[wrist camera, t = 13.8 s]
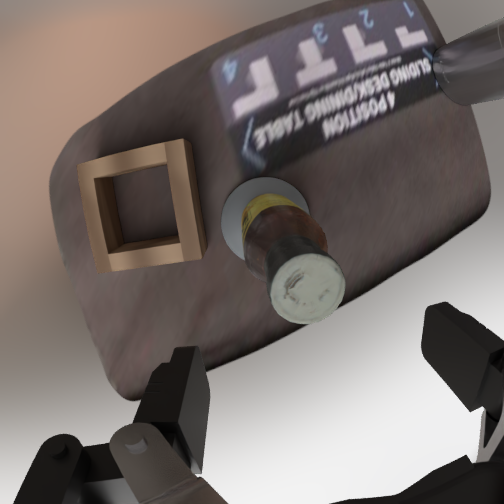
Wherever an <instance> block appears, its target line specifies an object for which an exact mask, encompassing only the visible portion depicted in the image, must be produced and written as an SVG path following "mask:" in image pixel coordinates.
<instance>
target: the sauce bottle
mask: <svg viewBox="0 0 504 504" xmlns="http://www.w3.org/2000/svg"><path fill="white" fill-rule="evenodd" d="M241 229H242V243H243V252H244V259H245V262H246V265H247V267H248V269H249V270H250V272H251V273H252V274H253V275H254V276H255V277H256V278H257V279H259V280H261V281H263V282H265V283H266V285H267V292H268V295H269V298H270V301H271V304H272V306H273V308H274V309H275V311H276V312H277V313H278V314H279V315H280V316H282V317H283V318H285V319H286V320H288V321H289V322H293V323H298V324H311V323H315V322H319V321H321V320H323V319H325V318H326V317H328V316H329V315H331V314H332V313H333V312H334V311H335V310H336V309H337V307H338V305H339V304H340V303H341V301H342V298H343V296H344V292H345V278H344V274H343V272H342V270H341V268H340V266H339V265H338V263H337V262H336V261H335V260H334V259H333V258H332V257H331V256H330V255H329V254H328V253H327V252H328V246H327V240H326V237H325V233H324V232H323V230H322V228H321V227H320V226H319V224H318V223H317V222H316V221H315V220H314V219H313V218H312V217H311V216H310V215H309V214H308V213H307V212H306V211H304V210H303V209H302V208H300V207H299V206H297V205H296V204H295V203H293V202H292V201H290V200H289V199H288V198H286V197H284V196H282V195H278V194H262V195H259V196H257V197H255V198H254V199H252V200H251V201H250V202H249V203H248V205H247V206H246V207H245V209H244V211H243V214H242V218H241Z"/></svg>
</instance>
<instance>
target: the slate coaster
mask: <svg viewBox="0 0 504 504" xmlns="http://www.w3.org/2000/svg"><path fill="white" fill-rule="evenodd" d="M262 194H278V195H282V196H284V197H286V198H288V199H289V200H290V201H292V202H293V203H295V204H296V205H297V206H299V207H300V208H302V209H303V210H304V211H306V212H307V213H308V214H309V209H308V206H307V203H306V201H305V199H304V198H303V196H302V195H301V194H300V192H299V191H298V190H297V189H296V188H295V187H293V186H292V185H290V184H289V183H287V182H285V181H283V180H280V179H277V178H272V177H260V178H255V179H251V180H249V181H247V182H245V183H243V184H241V185H240V186H238V187H237V188H236V189H235V190H234V191H233V192H232V193H231V194H230V196H229V197H228V199H227V201H226V203H225V205H224V207H223V211H222V216H221V228H222V233H223V236H224V239H225V241H226V243H227V244H228V246H229V247H230V249H231V250H232V251H233V252H234V253H235V254H236V255H237V256H239V257H240V258H242V259H243V260H245V259H244V252H243V243H242V229H241V218H242V214H243V211H244V209H245V207H246V206H247V205H248V203H249V202H250V201H251V200H252V199H254V198H255V197H257V196H259V195H262ZM309 215H310V214H309Z"/></svg>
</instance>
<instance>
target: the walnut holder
mask: <svg viewBox="0 0 504 504" xmlns="http://www.w3.org/2000/svg"><path fill="white" fill-rule="evenodd" d="M163 165H167V166H168V173H169V180H170V186H171V192H172V198H173V205H174V210H175V216H176V222H177V228H178V233H179V235H175V236H169V237H162V238H156V239H150V240H144V241H138V242H132V243H126V244H124V240H123V235H122V230H121V225H120V220H119V215H118V210H117V204H116V198H115V192H114V186H113V180H112V177H114V176H118V175H122V174H126V173H130V172H135V171H139V170H144V169H148V168H153V167H158V166H163ZM77 172H78V179H79V186H80V192H81V198H82V204H83V210H84V215H85V220H86V225H87V230H88V235H89V239H90V244H91V248H92V252H93V257H94V261H95V265H96V269H97V273H105V272H112V271H119V270H126V269H133V268H140V267H147V266H155V265H162V264H169V263H176V262H183V261H190V260H197V259H202V258H203V256H204V254H205V252H206V249H207V241H206V235H205V229H204V223H203V217H202V211H201V205H200V198H199V192H198V186H197V179H196V172H195V165H194V158H193V151H192V144H191V143H190V142H188V141H186V140H185V139H178V140H173V141H168V142H164V143H159V144H154V145H150V146H145V147H141V148H137V149H133V150H129V151H125V152H121V153H117V154H113V155H109V156H106V157H102V158H99V159H95V160H92V161H88V162H85V163H81V164H78V165H77Z"/></svg>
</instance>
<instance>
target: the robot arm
mask: <svg viewBox="0 0 504 504" xmlns="http://www.w3.org/2000/svg"><path fill="white" fill-rule="evenodd" d="M433 70H434V74H435V77H436V79H437V81H438V84H439V85H440V87H441V88H442V90H443V91H444V92H445V94H446V95H447V96H448V97H449V98H450V99H451V100H453V101H454V102H456V103H458V104H460V105H471V104H477V103H482V102H488V101H493V100H499V99H504V17H503V18H501V19H499V20H496V21H494V22H492V23H490V24H488V25H485V26H483V27H481V28H479V29H477V30H475V31H473V32H471V33H468V34H466V35H465V36H462V37H460V38H458V39H456V40H454V41H452V42H450V43H448V44H446V45H444V46H442V47H440V48H439V49H438V50H436V52H435V54H434V57H433ZM421 349H422V354H423V356H424V358H425V359H426V360H427V362H428V363H429V364H430V365H431V366H432V367H433V369H434V370H435V371H436V372H437V373H438V374H439V376H440V377H441V378H442V379H443V380H444V381H445V383H447V385H448V386H449V387H450V389H451V390H452V391H453V392H454V393H455V395H456V396H457V397H458V398H459V399H460V401H461V402H462V403H463V404H464V405H465V407H466V408H467V409H468V410H469V412H472V411H474V410H476V409H478V408H480V407H482V406H483V407H484V408H485V409H484V411H483V414H482V417H481V418H482V419H481V430H480V440H479V449H478V456H477V460H476V463H471V461H470V459H469V458H468V456H467V455H465V456H463V457H461V458H459V459H457V460H455V461H453V462H451V463H449V464H446V465H444V466H442V467H440V468H438V469H436V470H433V471H432V472H430V473H429V474H428V475H426V476H425V477H423V478H422V479H420V480H419V481H417V482H416V483H415V484H413V485H412V486H410V487H408V488H407V489H405V490H404V491H402V492H401V493H399V494H396V495H392V496H383V497H374V498H363V499H348V500H344V501H340V502H335V503H331V504H504V340H502V339H501V338H500V337H498V336H497V335H496V334H494V333H493V332H492V331H490V330H489V329H486V327H485V326H484V325H482V324H481V323H479V322H478V321H477V320H476V319H475V318H473V317H472V316H470V315H468V314H465V313H462V312H460V311H459V310H458V309H456V308H455V307H453V306H452V305H451V304H449V303H448V302H442V303H438V304H434V305H430V306H428V307H427V308H426V311H425V317H424V326H423V334H422V341H421ZM209 404H210V388H209V383H208V379H207V375H206V371H205V368H204V364H203V360H202V356H201V352H200V349H199V347H198V346H187V347H176V348H175V349H174V352H173V355H172V357H171V360H170V362H169V363H161V364H160V365H159V366H158V367H157V368H156V369H155V370H154V371H153V372H152V374H151V377H150V379H149V382H148V385H147V387H146V389H145V393H144V394H143V397H142V399H141V402H140V405H139V407H138V410H137V412H136V415H135V418H134V420H133V423H132V424H129V425H126V426H124V427H122V428H120V429H119V430H118V431H116V432H115V434H113V436H112V438H111V440H110V443H105V444H99V445H92V446H85V447H83V446H82V444H81V443H80V441H79V440H78V439H77V438H76V437H75V436H73V435H69V434H59V435H55V436H53V437H51V438H49V439H47V440H46V441H45V442H44V443H43V444H42V445H41V447H40V449H39V451H38V453H37V455H36V457H35V459H34V461H33V463H32V465H31V467H30V469H29V471H28V473H27V475H26V477H25V479H24V481H23V483H22V485H21V488H20V490H19V492H18V494H17V496H16V498H15V501H14V503H13V504H228V503H227V502H226V501H225V500H224V499H223V498H222V497H221V496H220V495H219V494H218V493H217V492H216V491H215V490H214V489H213V488H212V487H211V486H210V485H209V484H208V483H207V482H206V481H205V480H204V479H203V478H202V477H197V476H196V475H195V474H202V466H203V457H204V448H205V438H206V430H207V421H208V413H209Z"/></svg>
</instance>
